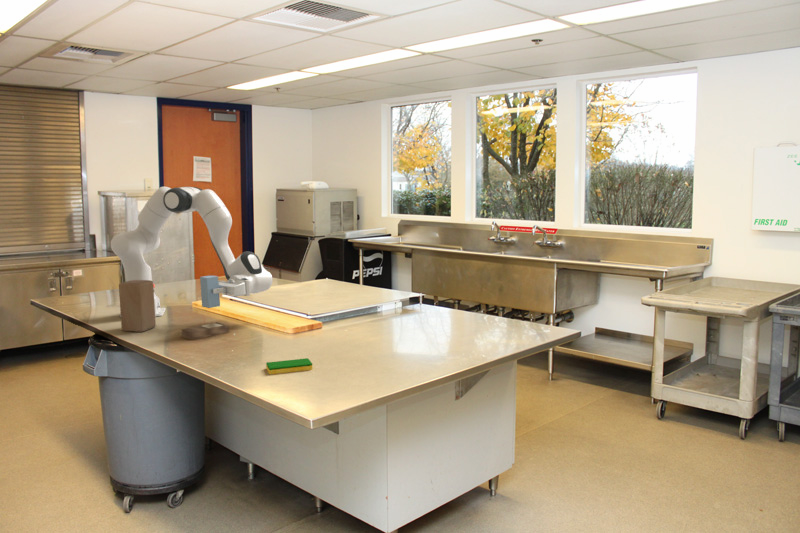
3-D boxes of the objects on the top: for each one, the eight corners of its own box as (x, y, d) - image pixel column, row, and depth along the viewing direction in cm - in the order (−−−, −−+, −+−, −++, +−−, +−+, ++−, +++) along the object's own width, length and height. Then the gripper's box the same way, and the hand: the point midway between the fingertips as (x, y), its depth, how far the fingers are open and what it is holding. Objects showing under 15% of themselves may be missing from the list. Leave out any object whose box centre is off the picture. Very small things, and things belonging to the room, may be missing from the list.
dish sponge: (312, 370, 207) (312, 363, 206) (269, 375, 202) (269, 368, 202) (308, 364, 213) (308, 357, 213) (266, 369, 209) (266, 362, 208)
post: (213, 304, 259) (211, 275, 258) (220, 306, 256) (218, 276, 254) (202, 306, 256) (200, 276, 254) (208, 308, 252) (206, 278, 251)
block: (142, 332, 259) (139, 283, 257) (120, 331, 261) (117, 283, 259) (156, 327, 269) (153, 280, 266) (135, 326, 271) (132, 279, 268)
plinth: (217, 329, 263) (217, 322, 263) (228, 332, 258) (228, 324, 258) (181, 336, 252) (181, 329, 251) (192, 340, 246) (192, 332, 246)
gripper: (223, 276, 271) (193, 280, 261) (251, 280, 257) (221, 285, 247) (224, 290, 272) (194, 295, 262) (252, 295, 258) (222, 301, 248)
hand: (208, 290), depth 254 cm, fingers closed on post, 5 cm apart
